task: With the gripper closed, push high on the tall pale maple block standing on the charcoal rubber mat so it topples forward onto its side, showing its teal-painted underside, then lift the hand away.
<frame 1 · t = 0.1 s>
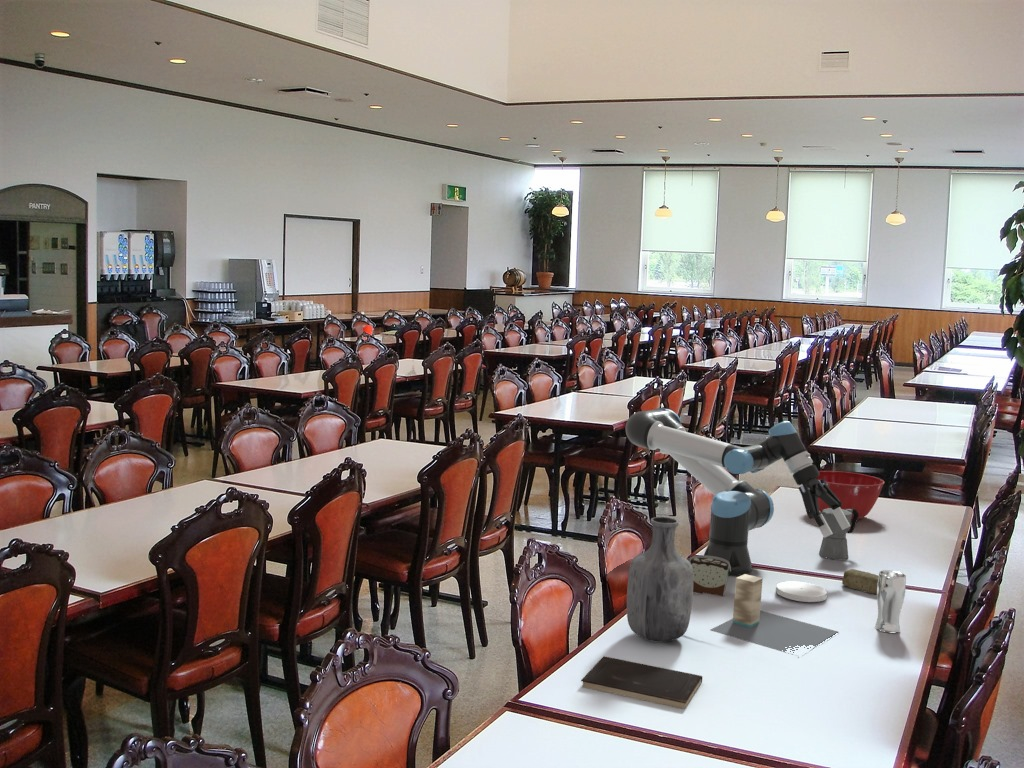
hand: (837, 532, 306), 15 cm above the table, tool tilted 35°, fingers open, 13 cm apart
maple block: (745, 622, 266), resting on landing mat
stone block: (862, 590, 302), on the table
vase: (656, 639, 253), on the table
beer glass: (887, 630, 268), on the table
coffeepot: (836, 556, 337), on the table
hardcover book: (642, 688, 224), on the table
plastic lid: (800, 598, 292), on the table
mixing bowl: (841, 517, 394), on the table
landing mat: (774, 632, 261), on the table
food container: (709, 593, 292), on the table
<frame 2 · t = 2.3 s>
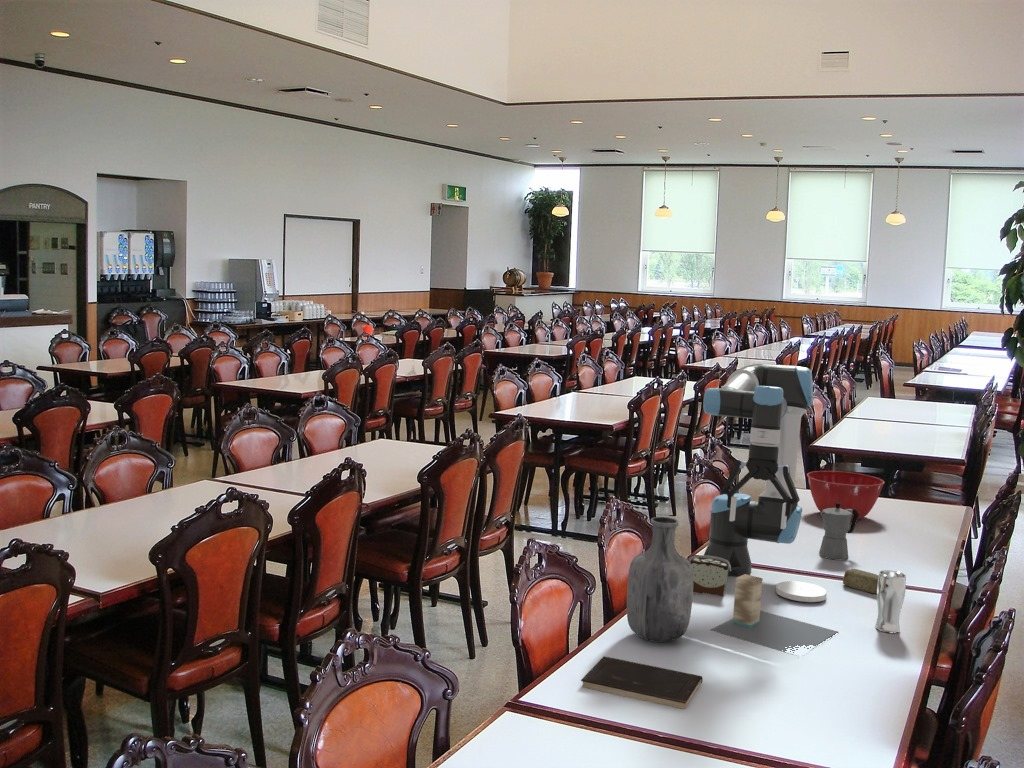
hand: (757, 524, 270), 25 cm above the table, tool pointing down, fingers open, 13 cm apart
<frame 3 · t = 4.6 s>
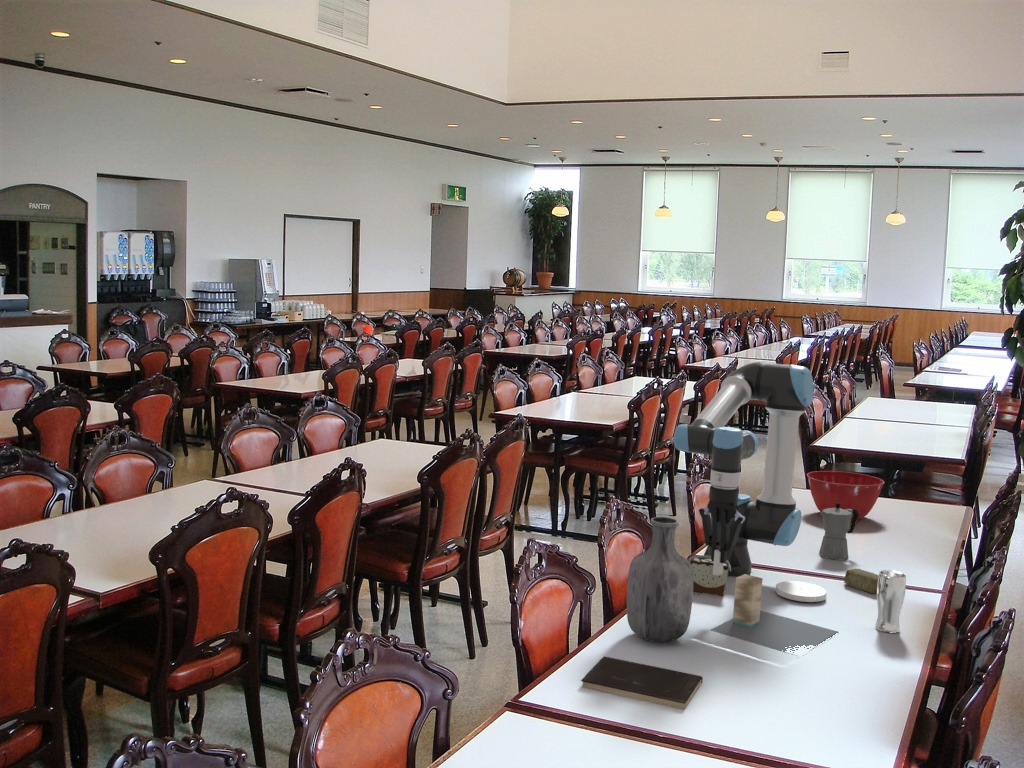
hand: (717, 573, 270), 12 cm above the table, tool pointing down, fingers closed
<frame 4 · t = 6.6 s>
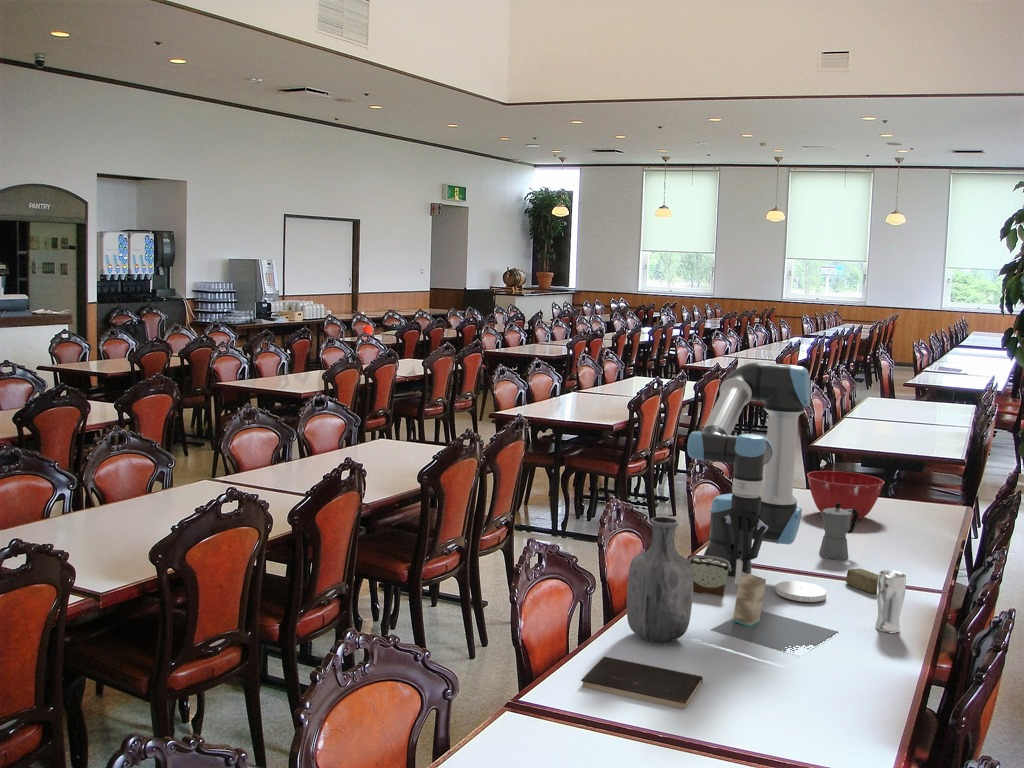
hand: (739, 583, 266), 11 cm above the table, tool pointing down, fingers closed
maple block: (746, 621, 266), point 1 cm above the table, touching gripper, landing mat
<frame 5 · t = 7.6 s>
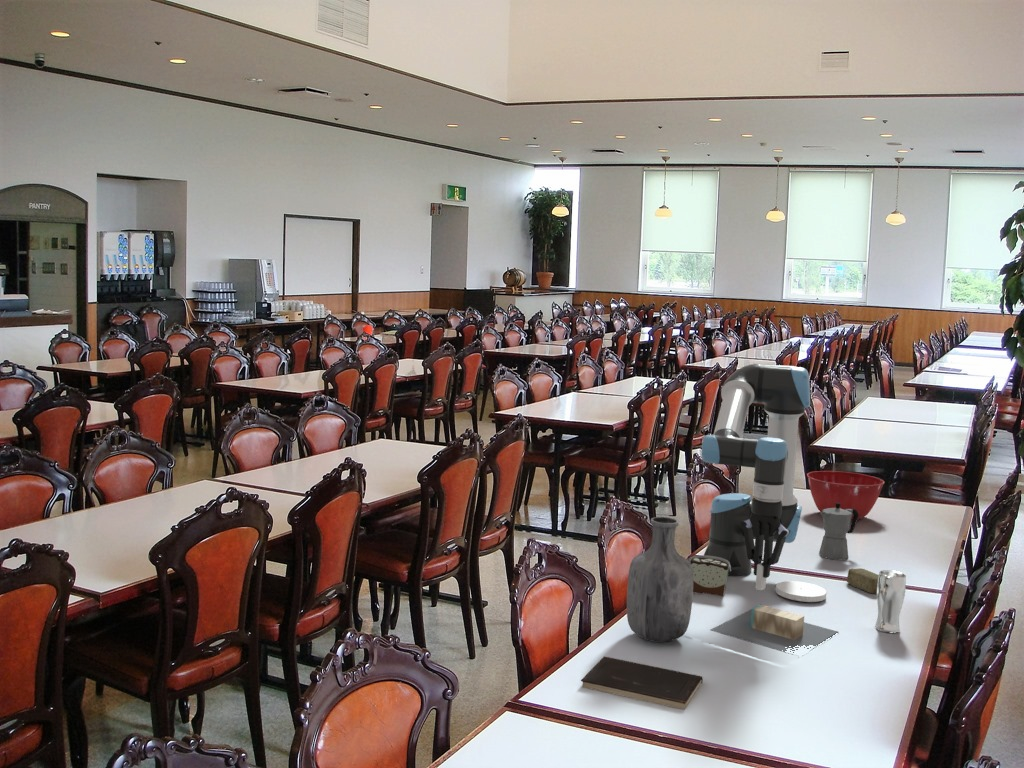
hand: (760, 588, 263), 11 cm above the table, tool pointing down, fingers closed
maple block: (755, 615, 264), point 3 cm above the table, tilted 90°, touching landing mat
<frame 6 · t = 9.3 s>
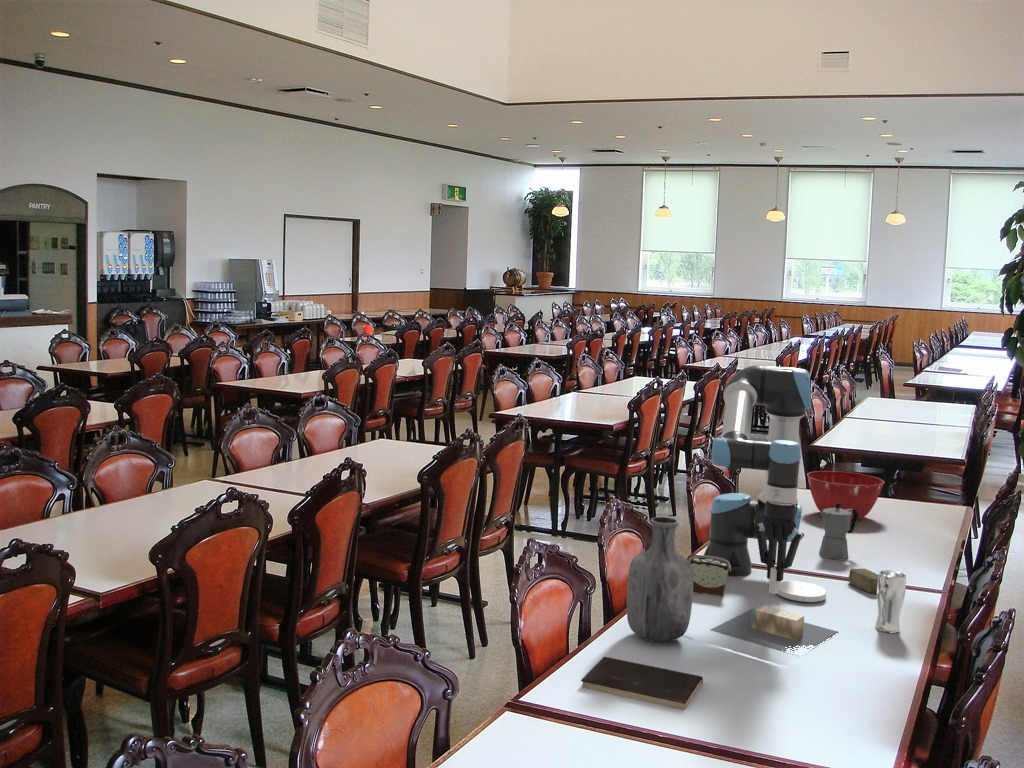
hand: (773, 592, 260), 10 cm above the table, tool pointing down, fingers closed
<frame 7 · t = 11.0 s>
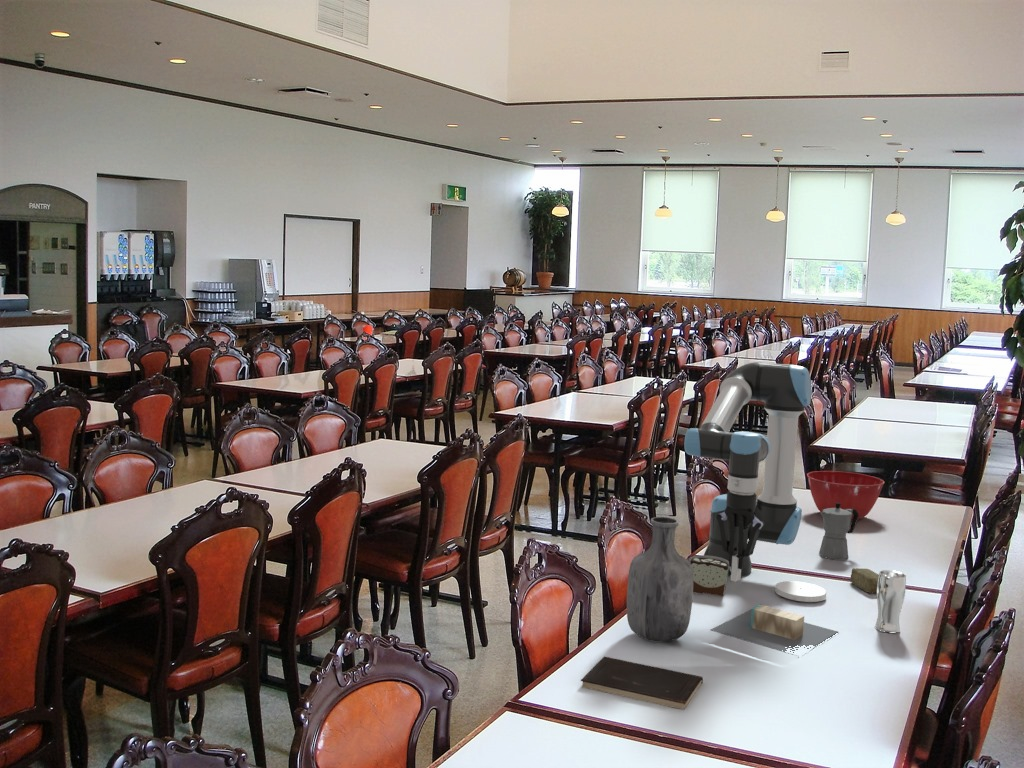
hand: (735, 579, 268), 11 cm above the table, tool pointing down, fingers closed
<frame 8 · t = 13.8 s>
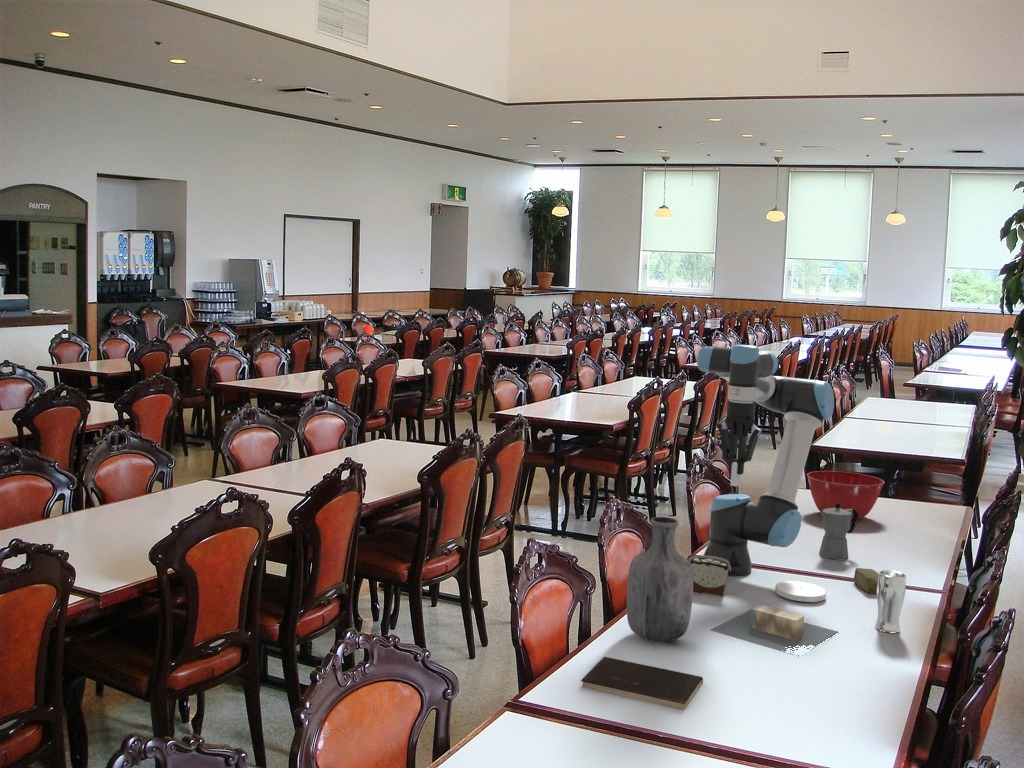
hand: (735, 485, 283), 32 cm above the table, tool pointing down, fingers closed
at the end: maple block tilted 90°; maple block inside the target area (3.0 cm from its centre), point 3.0 cm above the table; maple block touching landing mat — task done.
